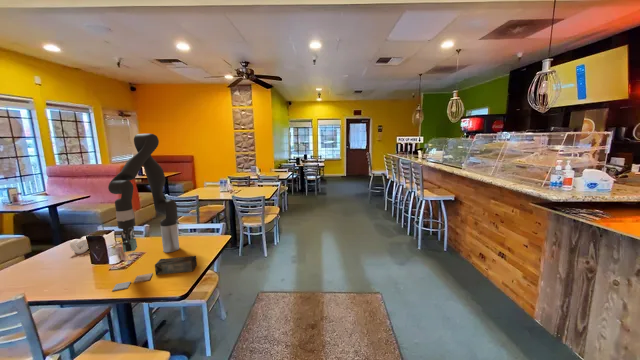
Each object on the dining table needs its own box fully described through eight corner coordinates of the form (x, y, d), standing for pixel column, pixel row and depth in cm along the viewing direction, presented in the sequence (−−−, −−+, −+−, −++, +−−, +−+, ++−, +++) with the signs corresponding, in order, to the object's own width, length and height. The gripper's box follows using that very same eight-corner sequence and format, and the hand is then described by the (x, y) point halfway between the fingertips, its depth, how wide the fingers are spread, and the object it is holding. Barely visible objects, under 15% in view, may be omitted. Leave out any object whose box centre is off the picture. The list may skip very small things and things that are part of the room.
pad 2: (137, 276, 141) (137, 275, 141) (152, 274, 143) (152, 273, 143) (133, 283, 134) (133, 282, 134) (149, 280, 137) (149, 279, 137)
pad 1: (116, 285, 133) (116, 283, 133) (130, 282, 135) (130, 281, 135) (112, 291, 128) (112, 290, 128) (127, 288, 130) (127, 287, 130)
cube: (126, 248, 144) (124, 239, 144) (137, 247, 146) (135, 238, 145) (123, 252, 140) (122, 243, 139) (134, 250, 142) (133, 241, 141)
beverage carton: (161, 268, 150) (160, 257, 149) (197, 265, 153) (196, 254, 152) (155, 275, 142) (153, 263, 141) (193, 272, 145) (192, 260, 144)
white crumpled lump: (80, 256, 168) (78, 242, 167) (64, 255, 170) (62, 241, 169) (98, 248, 179) (96, 235, 178) (83, 248, 181) (80, 235, 180)
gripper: (121, 215, 145) (125, 245, 148) (112, 223, 132) (117, 255, 135) (137, 213, 148) (141, 242, 151) (130, 221, 135) (135, 253, 138)
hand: (130, 248), depth 143 cm, fingers closed on cube, 5 cm apart
